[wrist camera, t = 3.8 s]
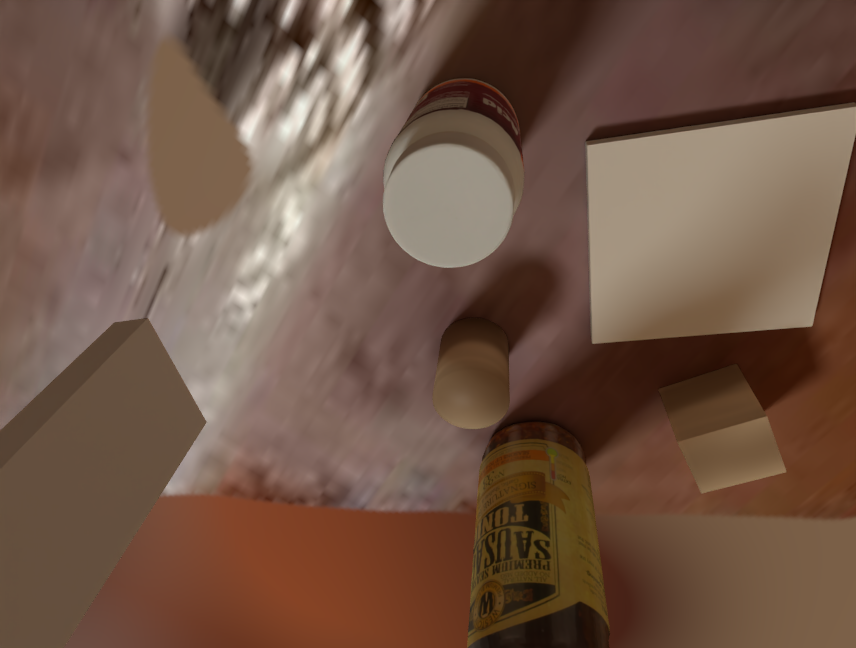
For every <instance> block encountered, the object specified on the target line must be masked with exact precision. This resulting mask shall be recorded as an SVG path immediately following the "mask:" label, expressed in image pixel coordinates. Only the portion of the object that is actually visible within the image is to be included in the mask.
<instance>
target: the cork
mask: <svg viewBox="0 0 856 648" xmlns="http://www.w3.org/2000/svg"><path fill="white" fill-rule="evenodd" d="M509 403H510V396H509V347H508V339H507V337H506V335H505V333H504V332H503V330H502V329H501V328H500V327H499V326H498V325H496V324H495V323H493V322H491V321H489V320H486V319H482V318H465V319H461V320H459V321H456V322H455V323H453V324H451V325H450V326H449V327H448V328H447V329H446V330H445V332H444V334H443V336H442V339H441V344H440V351H439V357H438V364H437V371H436V377H435V384H434V390H433V404H434V407H435V409H436V411H437V413H438V414H439V415H440V416H441V417H442V418H443V419H444V420H446V421H447V422H449V423H450V424H452V425H455V426H458V427H461V428H467V429H479V428H485V427H488V426H491V425H493V424H495V423H497V422H498V421H499V420H501V419H502V418H503V417H504V415H505V414H506V413H507V411H508V408H509Z"/></svg>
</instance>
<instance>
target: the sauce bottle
mask: <svg viewBox="0 0 856 648" xmlns="http://www.w3.org/2000/svg"><path fill="white" fill-rule="evenodd" d="M609 632H610V629H609V622H608V615H607V608H606V599H605V591H604V583H603V576H602V569H601V561H600V553H599V545H598V538H597V529H596V521H595V513H594V505H593V497H592V490H591V482H590V476H589V471H588V468H587V466H586V459H585V454H584V451H583V449H582V447H581V445H580V443H579V442H578V441H577V439H576V438H575V437H574V435H572V434H570V433H569V432H568V431H567V430H565V429H563V428H561V427H559V426H557V425H555V424H552V423H545V422H524V423H518V424H514V425H511V426H509V427H505V428H503V430H500V431H498V432H497V433H495V435H494V436H493V437H492V438H491V440H490V442H489V444H488V445H487V447H486V449H485V453H484V455H483V458H482V463H481V466H480V471H479V484H478V497H477V513H476V529H475V543H474V557H473V571H472V583H471V603H470V617H469V630H468V646H467V648H609V642H608V640H609V635H610V633H609Z"/></svg>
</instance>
